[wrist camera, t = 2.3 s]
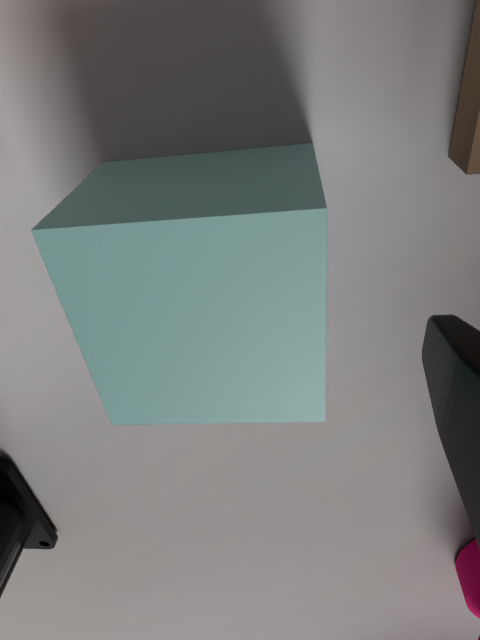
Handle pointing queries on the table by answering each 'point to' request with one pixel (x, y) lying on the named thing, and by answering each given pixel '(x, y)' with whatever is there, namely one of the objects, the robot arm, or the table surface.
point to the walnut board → (469, 107)
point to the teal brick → (197, 285)
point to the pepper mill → (470, 576)
